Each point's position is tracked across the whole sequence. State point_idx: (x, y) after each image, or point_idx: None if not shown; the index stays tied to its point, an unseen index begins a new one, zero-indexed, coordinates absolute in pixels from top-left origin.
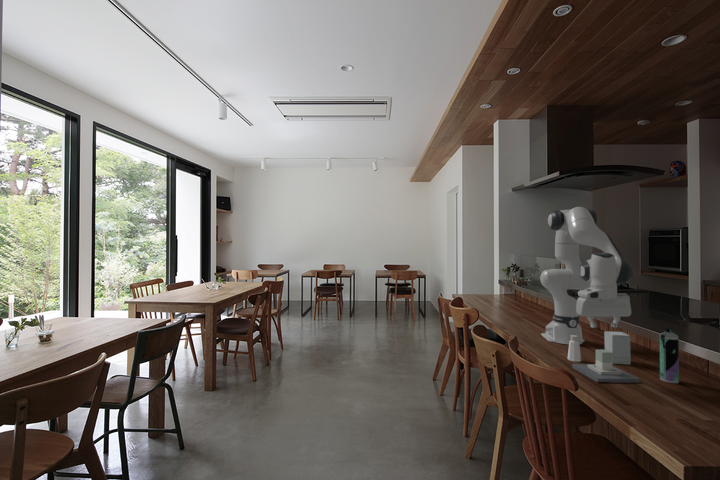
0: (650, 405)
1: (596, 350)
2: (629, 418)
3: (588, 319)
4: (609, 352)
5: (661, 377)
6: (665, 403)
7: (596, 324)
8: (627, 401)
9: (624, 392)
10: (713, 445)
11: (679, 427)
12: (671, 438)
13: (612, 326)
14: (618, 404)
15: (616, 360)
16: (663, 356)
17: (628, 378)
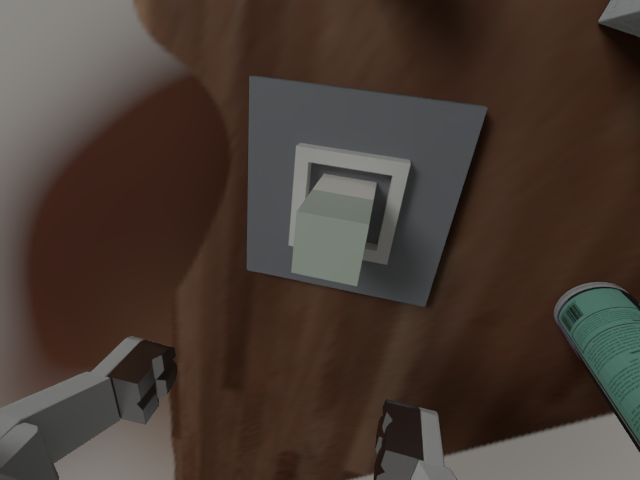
0: (286, 405)
1: (296, 218)
2: (187, 422)
3: (25, 408)
4: (338, 281)
5: (563, 307)
6: (338, 410)
7: (153, 411)
8: (244, 377)
9: (284, 339)
10: None
11: (259, 466)
12: (210, 475)
13: (386, 421)
14: (208, 381)
15: (635, 31)
16: (620, 405)
17: (376, 296)
